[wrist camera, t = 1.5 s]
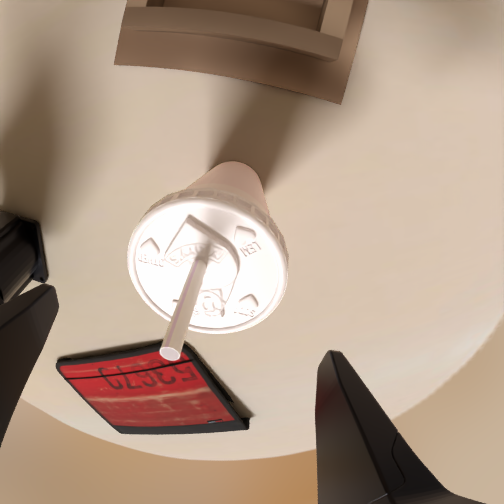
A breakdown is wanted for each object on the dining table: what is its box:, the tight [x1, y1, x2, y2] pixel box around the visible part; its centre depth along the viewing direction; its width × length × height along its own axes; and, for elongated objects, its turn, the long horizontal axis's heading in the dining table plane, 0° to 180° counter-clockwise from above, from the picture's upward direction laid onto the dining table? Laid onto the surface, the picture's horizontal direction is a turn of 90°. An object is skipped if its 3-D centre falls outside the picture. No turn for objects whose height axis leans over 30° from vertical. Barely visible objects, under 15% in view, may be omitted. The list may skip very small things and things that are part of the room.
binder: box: [56, 342, 250, 435], centre depth 33 cm, size 16×2×21 cm
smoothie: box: [127, 161, 289, 361], centre depth 14 cm, size 6×6×14 cm
